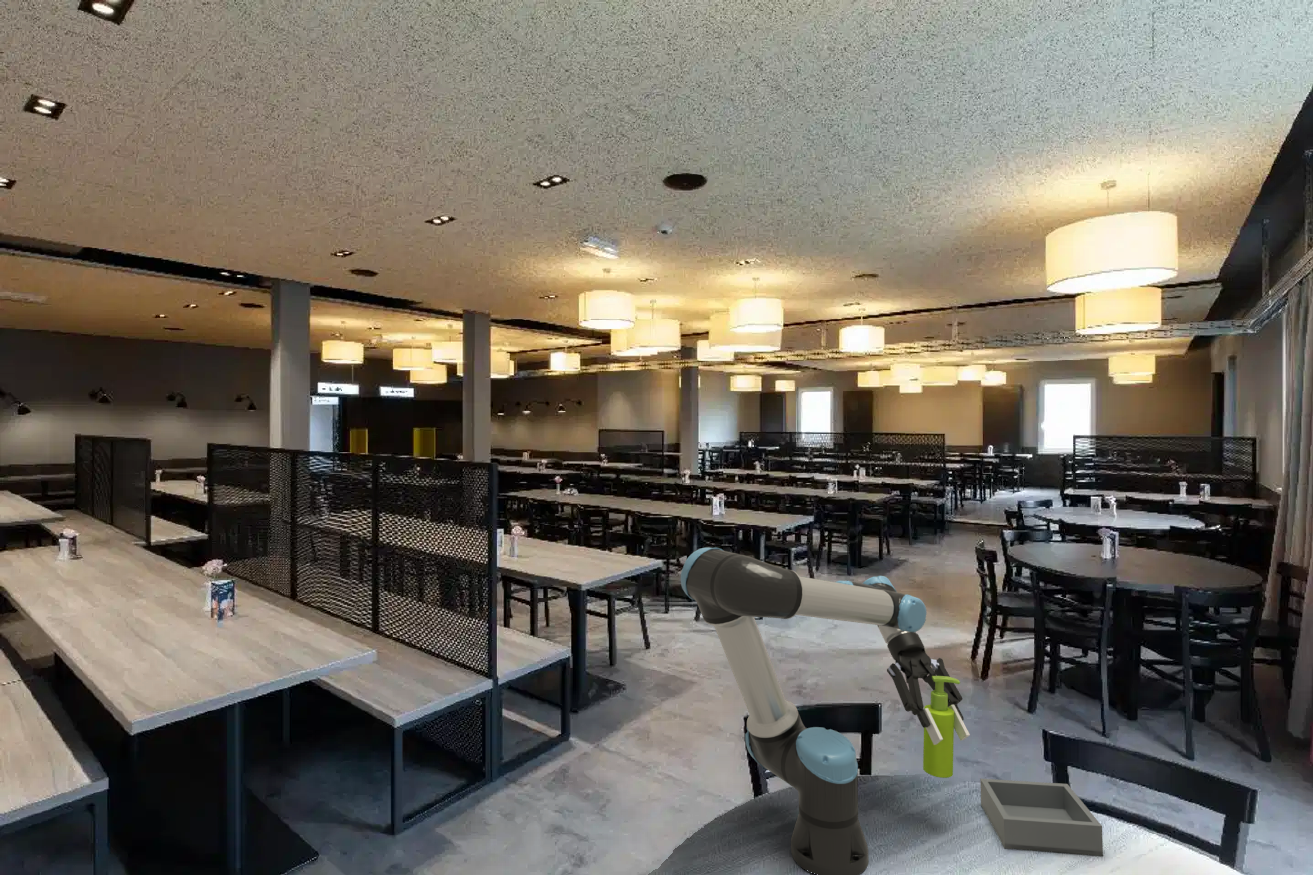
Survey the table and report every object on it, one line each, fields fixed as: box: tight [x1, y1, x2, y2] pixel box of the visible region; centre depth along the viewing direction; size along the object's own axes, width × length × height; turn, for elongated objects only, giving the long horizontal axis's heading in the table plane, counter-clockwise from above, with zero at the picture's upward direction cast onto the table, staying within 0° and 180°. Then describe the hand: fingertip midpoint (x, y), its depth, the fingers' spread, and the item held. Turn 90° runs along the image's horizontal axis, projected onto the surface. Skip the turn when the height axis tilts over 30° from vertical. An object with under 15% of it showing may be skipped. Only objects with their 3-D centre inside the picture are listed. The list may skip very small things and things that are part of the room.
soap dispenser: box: [922, 675, 961, 779], centre depth 141 cm, size 6×7×20 cm
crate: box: [979, 778, 1104, 857], centre depth 140 cm, size 18×16×6 cm
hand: (951, 739), depth 138 cm, fingers closed on soap dispenser, 6 cm apart
